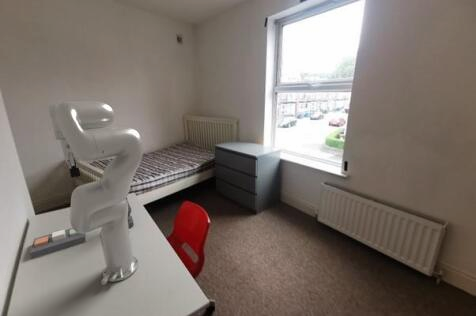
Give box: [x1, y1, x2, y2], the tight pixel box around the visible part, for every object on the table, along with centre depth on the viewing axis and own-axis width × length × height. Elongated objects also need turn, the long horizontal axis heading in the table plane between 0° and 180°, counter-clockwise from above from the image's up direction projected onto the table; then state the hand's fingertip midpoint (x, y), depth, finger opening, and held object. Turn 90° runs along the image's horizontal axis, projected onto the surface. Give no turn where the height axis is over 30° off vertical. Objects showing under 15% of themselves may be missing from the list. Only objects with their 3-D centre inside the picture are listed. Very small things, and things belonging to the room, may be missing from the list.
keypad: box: [29, 227, 87, 260], centre depth 101 cm, size 19×12×3 cm, turn 127°
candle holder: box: [126, 197, 135, 230], centre depth 111 cm, size 6×6×25 cm
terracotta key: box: [34, 236, 49, 247], centre depth 97 cm, size 4×4×4 cm
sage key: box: [70, 228, 80, 237], centre depth 104 cm, size 4×4×4 cm
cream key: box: [51, 229, 66, 242], centre depth 100 cm, size 4×4×4 cm
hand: (75, 176), depth 94 cm, fingers closed
